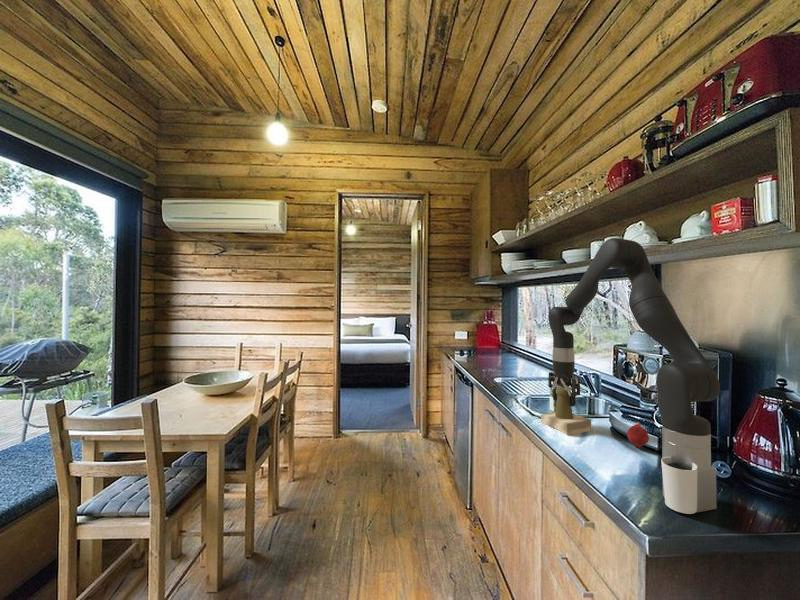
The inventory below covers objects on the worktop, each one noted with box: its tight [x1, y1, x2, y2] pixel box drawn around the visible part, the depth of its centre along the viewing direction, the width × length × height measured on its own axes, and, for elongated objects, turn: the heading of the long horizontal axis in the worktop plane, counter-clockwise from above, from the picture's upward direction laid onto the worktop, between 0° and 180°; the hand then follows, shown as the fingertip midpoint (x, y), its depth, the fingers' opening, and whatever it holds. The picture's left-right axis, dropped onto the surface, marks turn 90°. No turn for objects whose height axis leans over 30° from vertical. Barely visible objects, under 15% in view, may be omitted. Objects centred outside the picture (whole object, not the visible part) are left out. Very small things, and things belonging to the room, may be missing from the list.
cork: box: [555, 387, 574, 419], centre depth 132 cm, size 6×6×11 cm
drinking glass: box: [660, 457, 698, 515], centre depth 81 cm, size 7×7×10 cm
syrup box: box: [549, 381, 562, 413], centre depth 149 cm, size 6×6×14 cm
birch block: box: [540, 412, 592, 436], centre depth 132 cm, size 12×12×5 cm
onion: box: [626, 422, 649, 448], centre depth 114 cm, size 6×6×8 cm
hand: (563, 402), depth 132 cm, fingers open, 8 cm apart
